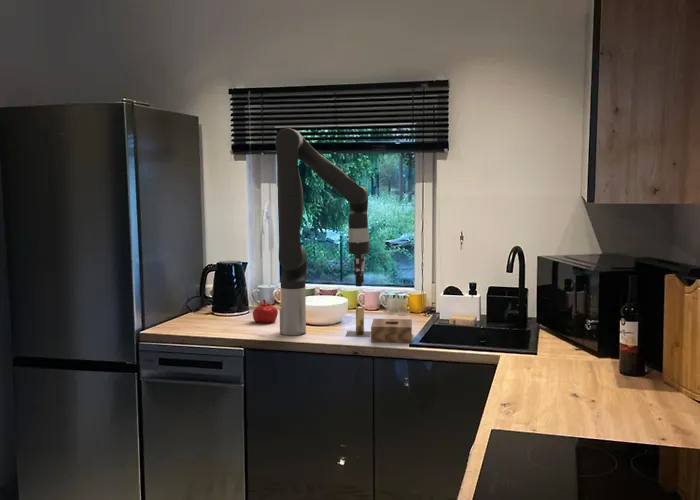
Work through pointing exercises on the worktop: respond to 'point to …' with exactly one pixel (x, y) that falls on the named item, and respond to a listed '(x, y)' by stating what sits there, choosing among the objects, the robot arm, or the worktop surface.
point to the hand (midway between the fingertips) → (359, 284)
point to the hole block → (391, 331)
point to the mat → (353, 334)
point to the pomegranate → (265, 313)
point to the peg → (359, 320)
